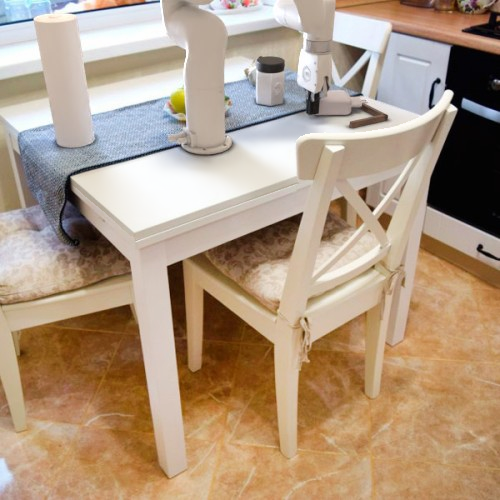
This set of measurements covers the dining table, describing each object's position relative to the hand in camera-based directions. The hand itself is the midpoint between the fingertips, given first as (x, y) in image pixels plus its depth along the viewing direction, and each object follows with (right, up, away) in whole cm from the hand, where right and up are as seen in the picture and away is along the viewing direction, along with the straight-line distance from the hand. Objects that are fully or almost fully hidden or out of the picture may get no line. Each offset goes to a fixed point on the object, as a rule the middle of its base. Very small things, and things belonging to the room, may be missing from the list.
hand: (312, 113), depth 162 cm
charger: (+9, +2, +6) cm, 11 cm away
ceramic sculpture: (-14, +16, +26) cm, 33 cm away
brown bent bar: (+10, +2, +5) cm, 11 cm away
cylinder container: (-61, -10, -13) cm, 64 cm away
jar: (-11, +6, +12) cm, 17 cm away
